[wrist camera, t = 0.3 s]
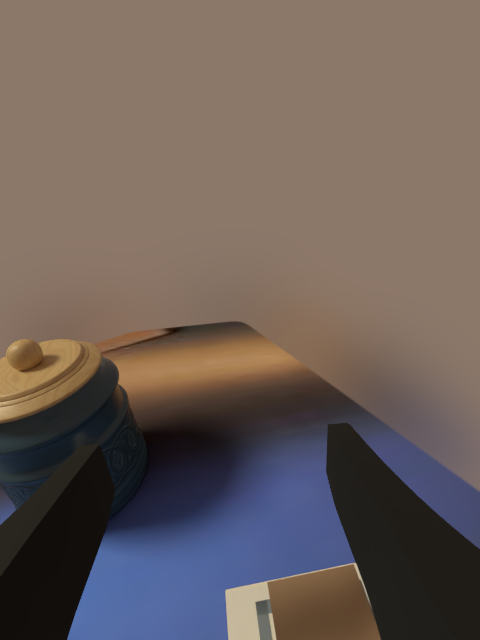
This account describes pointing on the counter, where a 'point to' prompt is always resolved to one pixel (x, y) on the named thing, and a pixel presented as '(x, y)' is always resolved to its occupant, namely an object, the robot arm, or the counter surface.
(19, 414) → the canister
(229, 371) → the counter surface
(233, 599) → the cream square tray
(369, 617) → the walnut block
